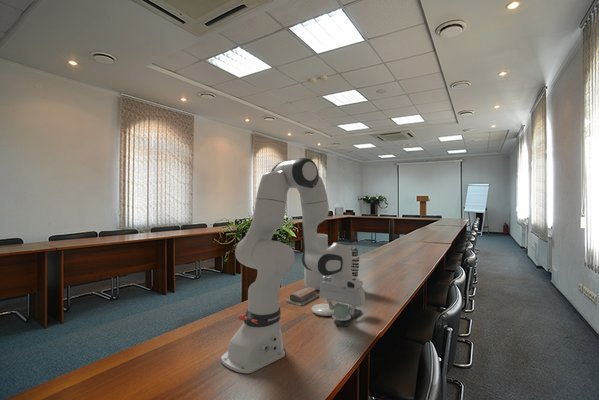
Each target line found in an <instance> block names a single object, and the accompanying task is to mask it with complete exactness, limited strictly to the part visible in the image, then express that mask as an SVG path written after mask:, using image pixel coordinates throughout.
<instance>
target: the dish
mask: <svg viewBox="0 0 599 400" xmlns="http://www.w3.org/2000/svg"><path fill="white" fill-rule="evenodd" d="M311 312H312V313H314V314H315V315H318V316H322V317H330V316H331V317H332V314H333V313H334V309H333V310H330V309H329V304H328V303H318V304H317V303H316V304H314V305H313V306H312V307H311Z"/></svg>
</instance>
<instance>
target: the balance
mask: <svg viewBox="0 0 599 400" xmlns="http://www.w3.org/2000/svg"><path fill="white" fill-rule="evenodd" d="M352 308H353V307H351V305H350V304H348V315H347V316H346V317H345V318H340V317H337V316H334V313H333V314H332V316H331V319H333V324H334V325H337V326H340V327H346V326H348V324H350V323H351V322H352V321H354V320H355V319H356V318H357V317H358V316H360V315H361V314H362V312H363V310H362V309H358V308H355V310H354V314H353V315H349V310H350V309H352Z"/></svg>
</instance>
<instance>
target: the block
mask: <svg viewBox="0 0 599 400" xmlns="http://www.w3.org/2000/svg"><path fill="white" fill-rule="evenodd" d="M333 305H334V316H337V317H340V318H345V317H346V316H347V315H348V304H346V303H342V302H337V303H335V304H333Z"/></svg>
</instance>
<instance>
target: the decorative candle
mask: <svg viewBox="0 0 599 400" xmlns="http://www.w3.org/2000/svg"><path fill="white" fill-rule="evenodd" d="M350 247H351V251H352V265H351V271H352V275H353V276H354V277H356V278H358V279H359V271H360V269H359V268H360V266H359V265H360V263H359V262H360V257H359V250H358V248H357V247H354V246H350Z"/></svg>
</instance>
